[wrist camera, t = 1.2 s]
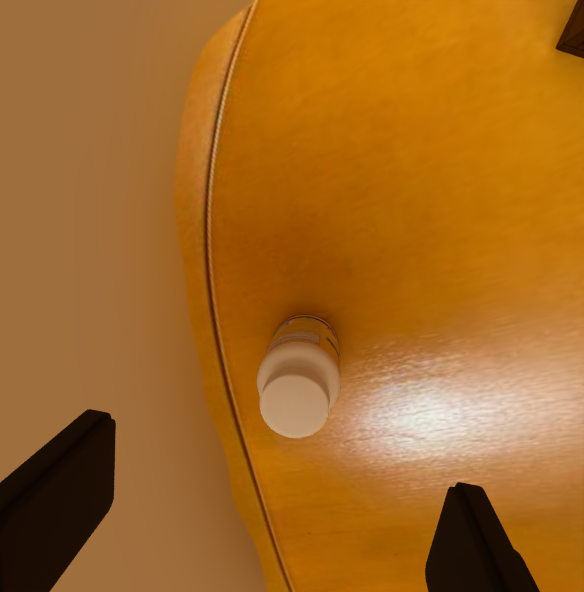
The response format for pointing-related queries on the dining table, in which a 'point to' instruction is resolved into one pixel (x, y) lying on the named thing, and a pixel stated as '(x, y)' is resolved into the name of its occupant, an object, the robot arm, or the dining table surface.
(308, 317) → the supplement bottle
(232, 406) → the dining table surface
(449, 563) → the robot arm
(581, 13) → the trash bin
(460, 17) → the dining table surface
